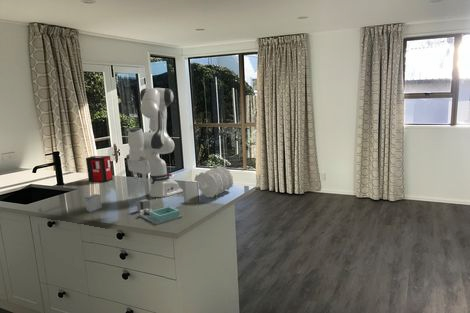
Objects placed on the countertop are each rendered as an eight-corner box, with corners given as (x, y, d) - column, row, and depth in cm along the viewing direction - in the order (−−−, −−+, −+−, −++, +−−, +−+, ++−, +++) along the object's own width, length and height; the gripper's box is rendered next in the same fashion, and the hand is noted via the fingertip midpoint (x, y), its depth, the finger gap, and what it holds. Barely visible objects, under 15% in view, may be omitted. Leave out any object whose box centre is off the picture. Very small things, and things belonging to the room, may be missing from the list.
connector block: (146, 208, 216) (145, 198, 215) (150, 209, 213) (149, 200, 212) (137, 211, 212) (136, 201, 211) (140, 212, 209) (139, 202, 208)
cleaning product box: (88, 182, 297) (85, 158, 293) (95, 179, 305) (92, 156, 302) (106, 182, 293) (103, 157, 289) (112, 179, 301) (110, 155, 298)
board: (162, 209, 212) (162, 203, 211) (181, 217, 196) (181, 211, 195) (139, 216, 202) (138, 210, 202) (156, 225, 187) (156, 218, 186)
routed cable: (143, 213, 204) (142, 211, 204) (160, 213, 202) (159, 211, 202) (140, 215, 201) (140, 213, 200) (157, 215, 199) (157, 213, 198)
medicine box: (97, 207, 224) (95, 193, 223) (102, 208, 222) (100, 194, 220) (86, 211, 217) (84, 197, 216) (91, 212, 215) (89, 198, 214)
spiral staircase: (231, 195, 247) (210, 204, 226) (211, 183, 254) (189, 190, 233) (240, 172, 241) (220, 179, 220) (219, 160, 248) (198, 165, 227)
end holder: (169, 211, 205) (169, 206, 204) (179, 215, 196) (179, 210, 196) (150, 216, 197) (149, 211, 197) (160, 221, 189) (159, 216, 188)
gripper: (151, 157, 200) (153, 181, 203) (134, 154, 216) (136, 176, 218) (141, 158, 196) (143, 183, 198) (124, 155, 212) (127, 178, 214)
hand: (139, 180), depth 208 cm, fingers open, 8 cm apart
